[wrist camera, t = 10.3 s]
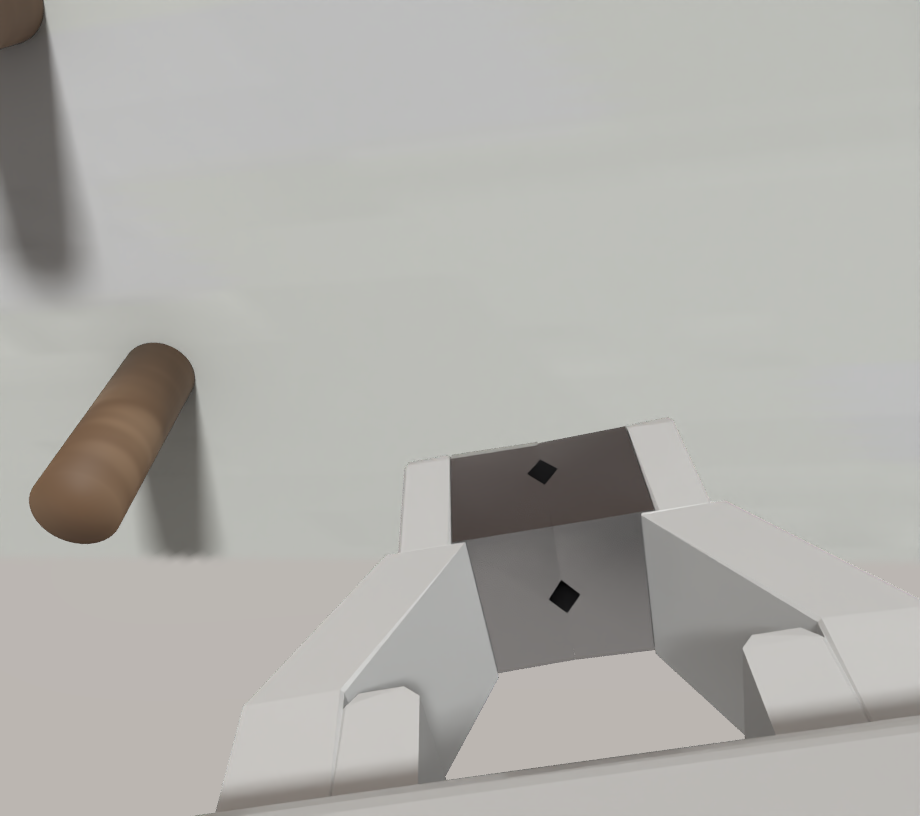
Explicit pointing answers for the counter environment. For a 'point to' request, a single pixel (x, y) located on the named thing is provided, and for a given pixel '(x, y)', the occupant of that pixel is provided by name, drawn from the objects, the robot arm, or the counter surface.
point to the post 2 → (113, 446)
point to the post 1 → (19, 20)
